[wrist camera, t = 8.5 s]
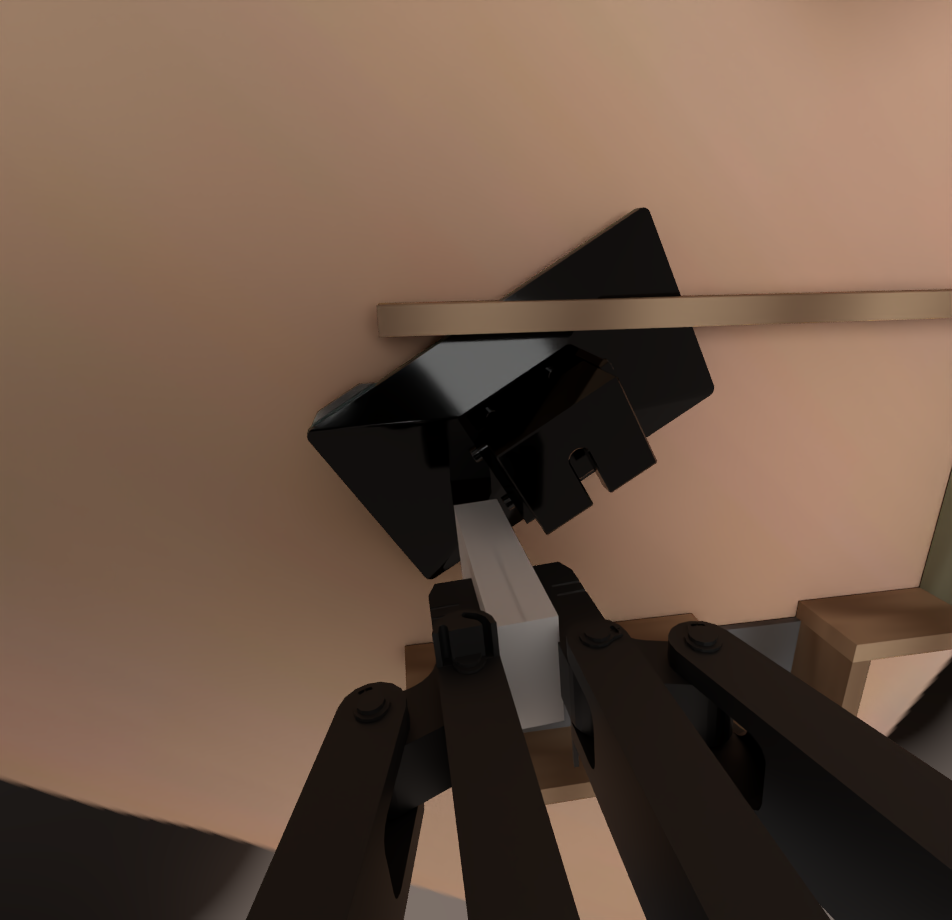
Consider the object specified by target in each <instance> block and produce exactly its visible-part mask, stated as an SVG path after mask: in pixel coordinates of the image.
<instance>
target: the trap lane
mask: <svg viewBox="0 0 952 920" xmlns="http://www.w3.org/2000/svg"><path fill="white" fill-rule="evenodd" d="M939 318H952V289H943V290H902V291H861V292H820V293H780V294H739V295H698V296H678V297H645V298H612V299H574V300H531V301H499V300H495V301H454V302H413V303H379V304H378V305H377V319H378V332H379V337H399V336H429V335H459V334H489V333H519V332H549V331H579V330H609V329H639V328H669V327H699V326H729V325H759V324H789V323H819V322H849V321H879V320H909V319H939ZM687 621H698V620H697V618H696V617H695V616H694V615H693V614H692V613H691V614H682V615H674V616H665V617H656V618H647V619H638V620H630V621H621V622H614V623H617V624H619V625H620V626H622V627H623V628H624V629H625V630H626V631H627V632H628V634H629V635H630V637H631V638H634V639H640V640H654V641H668V634H669V632H670V630H671V628H673V627H674V626H676V625H677V624H679V623H683V622H687ZM719 627H721V628H723V629H725V630H727V631H729V632H730V633H732V634H733V635H735V636H736V637H738V638H739V639H741V640H742V641H744V642H745V643H747V644H748V645H750V646H751V647H753V648H754V649H756V650H757V651H759V652H760V653H762V654H763V655H765V656H766V657H768V658H769V659H771V660H772V661H774V662H775V663H777V664H778V665H780V666H781V667H783V668H784V669H786V670H787V671H789V672H790V673H792V674H793V675H795V676H796V677H798V678H799V679H801V680H802V681H804V682H805V683H807V684H808V685H810V686H811V687H813V688H814V689H816V690H817V691H819V692H820V693H822V694H823V695H825V696H826V697H828V698H829V699H831V700H832V701H834V702H835V703H837V704H838V705H840V706H841V707H843V708H844V709H846V710H847V711H848V712H850V713H851V714H853V715H854V716H856V717H857V713H858V709H859V705H860V701H861V698H862V694H863V690H864V686H865V682H866V678H867V674H868V670H869V666H870V662H871V660H876V659H884V658H891V657H898V656H906V655H913V654H921V653H928V652H936V651H943V650H951V649H952V472H951V476H950V479H949V483H948V486H947V490H946V494H945V497H944V501H943V504H942V508H941V512H940V515H939V519H938V523H937V526H936V530H935V533H934V537H933V541H932V544H931V548H930V552H929V555H928V559H927V562H926V566H925V570H924V573H923V577H922V581H921V584H920V587H919V588H911V589H902V590H893V591H884V592H875V593H867V594H858V595H849V596H840V597H832V598H823V599H814V600H805V601H799V604H798V609H797V614H796V617H792V618H783V619H775V620H766V621H758V622H750V623H741V624H733V625H724V626H719ZM435 664H436V657H435V651H434V644H433V643H428V644H419V645H410V646H405V665H406V690H407V689H409V688H411V687H413V686H415V685H417V684H418V683H420V682H422V681H423V680H424V679H425V678H426V677H428V676H429V674H430V673H431V672H432V670H433V669H434V666H435ZM563 704H564V702H563ZM733 722H734V723H735V724H737V725H738V726H739V727H740V728H742V729H743V730H745V729H744V728H743V727H741V726H740V725H739V724H738V723H737V722H736V721H734V720H733ZM522 730H523V733H524V737H525V740H526V743H527V747H528V750H529V753H530V757H531V760H532V763H533V766H534V770H535V773H536V776H537V780H538V783H539V786H540V790H541V793H542V796H543V799H544V803H545V805H548V804H554V803H560V802H566V801H573V800H579V799H585V798H591V797H596V795H595V793H594V791H593V788H592V786H591V783H590V781H589V778H588V776H587V773H586V771H585V769H584V766H583V764H582V761H581V759H580V756H579V767H575V768H574V763H573V755H572V736H571V718H570V716H569V714H568V711H567V709H566V707H565V704H564V721H560V722H555V723H551V724H546V725H541V726H536V727H531V728H526V729H522ZM745 731H746V730H745Z"/></svg>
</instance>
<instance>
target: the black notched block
mask: <svg viewBox="0 0 952 920" xmlns="http://www.w3.org/2000/svg"><path fill="white" fill-rule="evenodd" d="M678 296H681V295H680V292H679V290H678V287H677V284H676V282H675V279H674V276H673V273H672V271H671V268H670V265H669V263H668V260H667V257H666V254H665V252H664V249H663V246H662V244H661V241H660V238H659V235H658V233H657V230H656V227H655V225H654V222H653V219H652V216H651V214H650V211H649V210H648V209H647V208H636V209H634V210H633V211H631V212H630V213H628V214H627V215H625V216H624V217H622V218H621V219H619V220H618V221H616V222H615V223H613V224H612V225H610V226H609V227H607V228H606V229H604V230H603V231H601V232H600V233H598V234H597V235H595V236H594V237H592V238H591V239H589V240H588V241H586V242H585V243H583V244H582V245H580V246H579V247H578V248H576V249H575V250H573V251H572V252H570V253H569V254H567V255H566V256H564V257H563V258H561V259H560V260H558V261H557V262H555V263H554V264H552V265H551V266H549V267H548V268H546V269H545V270H543V271H542V272H540V273H539V274H537V275H536V276H534V277H533V278H531V279H530V280H528V281H527V282H525V283H524V284H522V285H521V286H519V287H518V288H517V289H515V290H514V291H512V292H511V293H509V294H508V295H506V296H505V297H503V298H502V299H500V300H499V301H531V300H574V299H612V298H645V297H678ZM713 391H714V385H713V382H712V379H711V376H710V374H709V371H708V368H707V366H706V363H705V360H704V357H703V355H702V352H701V349H700V347H699V344H698V341H697V338H696V336H695V333H694V330H693V328H692V327H669V328H639V329H609V330H579V331H549V332H519V333H489V334H459V335H447V336H445V337H444V338H442V339H441V340H439V341H438V342H436V343H435V344H433V345H432V346H430V347H429V348H427V349H426V350H424V351H423V352H421V353H420V354H418V355H417V356H415V357H414V358H412V359H411V360H409V361H408V362H406V363H405V364H403V365H402V366H400V367H399V368H397V369H396V370H394V371H393V372H392V373H390V374H389V375H387V376H386V377H384V378H383V379H381V380H380V381H378V382H376V383H361V384H358V385H356V386H355V387H353V388H352V389H350V390H349V391H347V392H346V393H344V394H343V395H341V396H340V397H339V398H337V399H336V400H334V401H333V402H331V403H330V404H328V405H327V406H325V407H324V408H322V409H321V410H319V411H318V412H317V414H316V417H315V419H314V421H313V424H312V426H311V427H310V428H309V430H308V433H307V438H308V440H309V442H310V443H311V444H312V445H313V446H314V448H315V449H316V450H317V451H318V452H319V453H320V455H321V456H322V457H323V458H324V459H325V461H326V462H327V463H328V464H329V465H330V466H331V468H332V469H333V470H334V471H335V472H336V473H337V475H338V476H339V477H340V478H341V479H342V480H343V482H344V483H345V484H346V485H347V486H348V487H349V489H350V490H351V491H352V492H353V493H354V494H355V496H356V497H357V498H358V499H359V500H360V501H361V503H362V504H363V505H364V506H365V507H366V508H367V510H368V511H369V512H370V513H371V514H372V516H373V517H374V518H375V519H376V520H377V521H378V523H379V524H380V525H381V526H382V527H383V528H384V530H385V531H386V532H387V533H388V534H389V535H390V537H391V538H392V539H393V540H394V541H395V542H396V544H397V545H398V546H399V547H400V548H401V549H402V551H403V552H404V553H405V554H406V555H407V556H408V558H409V559H410V560H411V561H412V562H413V564H414V565H415V566H416V567H417V568H418V569H419V571H420V572H421V573H422V574H423V575H424V576H425V577H426V578H427V579H433V578H435V577H437V576H438V575H440V574H441V573H443V572H444V571H446V570H447V569H449V568H450V567H452V566H454V565H455V564H457V563H458V562H460V553H459V545H458V537H457V528H456V520H455V512H454V505H460V504H467V503H473V502H480V501H486V500H493V499H497V500H498V502H499V504H500V506H501V508H502V510H503V512H504V514H505V516H506V518H507V519H508V521H509V523H510V525H511V527H512V526H514V525H515V524H517V523H518V522H520V521H521V520H523V519H524V520H525V521H526V523H527V524H528V523H529V522H531V521H532V520H534V519H536V521H537V522H538V524H539V525H540V526H541V528H542V529H543V531H544V532H545V533H546V534H547V535H548V534H550V533H551V532H553V531H554V530H556V529H557V528H559V527H560V526H562V525H563V524H565V523H566V522H568V521H569V520H571V519H573V518H574V517H576V516H577V515H579V514H580V513H582V512H583V511H585V510H586V509H588V508H589V507H591V506H592V505H593V502H592V500H591V499H590V497H589V495H588V493H587V492H586V490H585V488H584V486H583V485H582V483H581V481H582V480H583V479H585V478H586V477H588V476H589V475H591V474H592V473H594V472H596V474H597V476H598V477H599V479H600V481H601V483H602V485H603V486H604V487H605V488H606V489H607V490H608V491H609V492H613V491H615V490H616V489H618V488H619V487H621V486H622V485H624V484H625V483H627V482H628V481H630V480H631V479H633V478H634V477H636V476H637V475H639V474H640V473H642V472H643V471H645V470H646V469H648V468H650V467H651V466H653V465H654V464H656V463H657V460H656V458H655V456H654V454H653V451H652V449H651V447H650V445H649V443H648V441H647V439H646V437H648V436H649V435H651V434H652V433H654V432H655V431H657V430H658V429H660V428H661V427H663V426H665V425H666V424H668V423H669V422H671V421H672V420H674V419H675V418H677V417H678V416H680V415H681V414H683V413H684V412H686V411H687V410H689V409H690V408H692V407H693V406H695V405H696V404H698V403H699V402H701V401H702V400H704V399H705V398H707V397H708V396H710V395H711V394H712V393H713Z"/></svg>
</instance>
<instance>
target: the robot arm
mask: <svg viewBox="0 0 952 920" xmlns="http://www.w3.org/2000/svg"><path fill="white" fill-rule="evenodd" d="M454 512H455V520H456V528H457V537H458V545H459V553H460V561H461V569H462V577H463V579H462V580H456V581H451V582H445V583H439V584H435V585H434V587H433V589H432V590H431V592H430V594H429V604H430V612H431V619H432V628H433V631H432V637H433V644H434V651H435V657H436V664H435V666H434V669H433V670H432V672H431V673H430V674H429V676H428V677H426V678H425V679H424V680H423V681H422V682H420V683H418V684H417V685H415V686H413V687H411V688H409V689H407V690H405V691H402V689H401V688H399V687H398V686H396V685H394V684H392V683H385V682H377V683H370V684H367V685H364V686H362V687H360V688H357V689H355V690H354V691H353V692H351V693H350V694H349V695H348V696H346V697H345V698H344V700H343V701H342V703H341V704H340V706H339V707H338V709H337V711H336V714H335V716H334V718H333V721H332V723H331V725H330V727H329V730H328V732H327V734H326V737H325V739H324V741H323V744H322V746H321V748H320V750H319V753H318V755H317V757H316V760H315V762H314V764H313V767H312V769H311V771H310V774H309V776H308V778H307V780H306V783H305V785H304V787H303V790H302V792H301V794H300V797H299V799H298V801H297V803H296V806H295V808H294V810H293V813H292V815H291V817H290V820H289V822H288V824H287V826H286V829H285V831H284V833H283V836H282V838H281V840H280V843H279V845H278V847H277V849H276V852H275V854H274V857H273V859H272V861H271V863H270V866H269V868H268V870H267V872H266V875H265V877H264V879H263V882H262V884H261V886H260V889H259V891H258V893H257V895H256V898H255V901H254V902H253V905H252V907H251V909H250V912H249V914H248V916H247V918H246V920H404V915H405V909H406V904H407V899H408V893H409V888H410V883H411V877H412V872H413V867H414V861H415V856H416V851H417V845H418V840H419V835H420V829H421V824H422V819H423V813H424V802H426V801H428V800H429V799H431V798H433V797H435V796H436V795H438V794H440V793H442V792H444V791H445V790H447V789H449V788H451V787H452V793H453V801H454V809H455V817H456V825H457V833H458V841H459V849H460V857H461V865H462V873H463V882H464V890H465V898H466V906H467V914H468V920H580V918H579V915H578V912H577V908H576V905H575V902H574V898H573V895H572V892H571V889H570V885H569V882H568V879H567V875H566V872H565V869H564V865H563V862H562V859H561V856H560V852H559V849H558V846H557V842H556V839H555V836H554V832H553V829H552V826H551V823H550V819H549V816H548V813H547V809H546V806H545V803H544V799H543V796H542V793H541V790H540V786H539V783H538V780H537V776H536V773H535V770H534V766H533V763H532V760H531V757H530V753H529V750H528V747H527V743H526V740H525V737H524V733H523V730H522V729H526V728H531V727H536V726H541V725H546V724H551V723H555V722H560V721H564V704H565V707H566V709H567V711H568V714H569V716H570V718H571V736H572V755H573V763H574V768H575V767H579V756H580V759H581V761H582V764H583V766H584V769H585V771H586V773H587V776H588V778H589V781H590V783H591V786H592V788H593V791H594V793H595V795H596V798H597V800H598V803H599V805H600V808H601V810H602V812H603V815H604V817H605V820H606V822H607V825H608V827H609V829H610V832H611V834H612V837H613V839H614V842H615V844H616V846H617V849H618V851H619V854H620V856H621V859H622V861H623V863H624V866H625V868H626V871H627V873H628V876H629V878H630V880H631V883H632V885H633V888H634V890H635V893H636V895H637V897H638V900H639V902H640V905H641V907H642V910H643V912H644V914H645V917H646V919H647V920H830V918H829V917H828V916H827V914H826V913H825V911H824V910H823V909H822V907H823V908H824V909H825V910H826V911H827V912H828V913H829V914H830V915H831V916H832V917H833V918H834V920H952V780H950V779H949V778H947V777H946V776H944V775H943V774H941V773H940V772H938V771H937V770H935V769H934V768H932V767H931V766H929V765H928V764H926V763H925V762H923V761H922V760H920V759H919V758H917V757H916V756H914V755H913V754H911V753H910V752H908V751H907V750H905V749H904V748H902V747H901V746H899V745H898V744H896V743H895V742H893V741H892V740H890V739H889V738H887V737H886V736H884V735H883V734H881V733H880V732H878V731H877V730H875V729H874V728H872V727H871V726H869V725H868V724H866V723H865V722H863V721H862V720H860V719H859V718H857V717H856V716H854V715H853V714H851V713H850V712H848V711H847V710H846V709H844V708H843V707H841V706H840V705H838V704H837V703H835V702H834V701H832V700H831V699H829V698H828V697H826V696H825V695H823V694H822V693H820V692H819V691H817V690H816V689H814V688H813V687H811V686H810V685H808V684H807V683H805V682H804V681H802V680H801V679H799V678H798V677H796V676H795V675H793V674H792V673H790V672H789V671H787V670H786V669H784V668H783V667H781V666H780V665H778V664H777V663H775V662H774V661H772V660H771V659H769V658H768V657H766V656H765V655H763V654H762V653H760V652H759V651H757V650H756V649H754V648H753V647H751V646H750V645H748V644H747V643H745V642H744V641H742V640H741V639H739V638H738V637H736V636H735V635H733V634H732V633H730V632H729V631H727V630H725V629H723V628H721V627H719V626H717V625H715V624H711V623H707V622H703V621H687V622H683V623H679V624H677V625H676V626H674V627H673V628H671V630H670V632H669V634H668V641H654V640H640V639H634V638H631V637H630V635H629V634H628V632H627V631H626V630H625V629H624V628H623V627H622V626H620V625H619V624H617V623H614V622H612V621H610V620H605V619H604V617H603V616H602V614H601V613H600V611H599V610H598V608H597V607H596V605H595V604H594V602H593V601H592V599H591V598H590V596H589V595H588V593H587V592H586V591H585V589H584V587H583V586H582V584H581V583H579V580H578V578H577V577H576V575H575V574H574V572H573V571H572V570H571V569H570V568H568V567H566V566H565V565H563V564H561V563H560V562H554V563H548V564H542V565H537V566H532V565H531V563H530V561H529V559H528V557H527V555H526V554H525V552H524V550H523V548H522V546H521V544H520V542H519V540H518V538H517V537H516V535H515V533H514V531H513V529H512V527H511V525H510V523H509V521H508V519H507V518H506V516H505V514H504V512H503V510H502V508H501V506H500V504H499V502H498V500H497V499H493V500H486V501H480V502H473V503H467V504H460V505H454ZM563 702H564V704H563ZM733 720H734V721H736V722H737V723H738V724H739V725H740V726H741V727H743V728H744V729H745V730H746V731H745V730H743V729H742V728H740V727H739V726H738V725H737V724H735V723H734V722H733ZM820 905H821V906H822V907H821V906H820Z"/></svg>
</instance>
